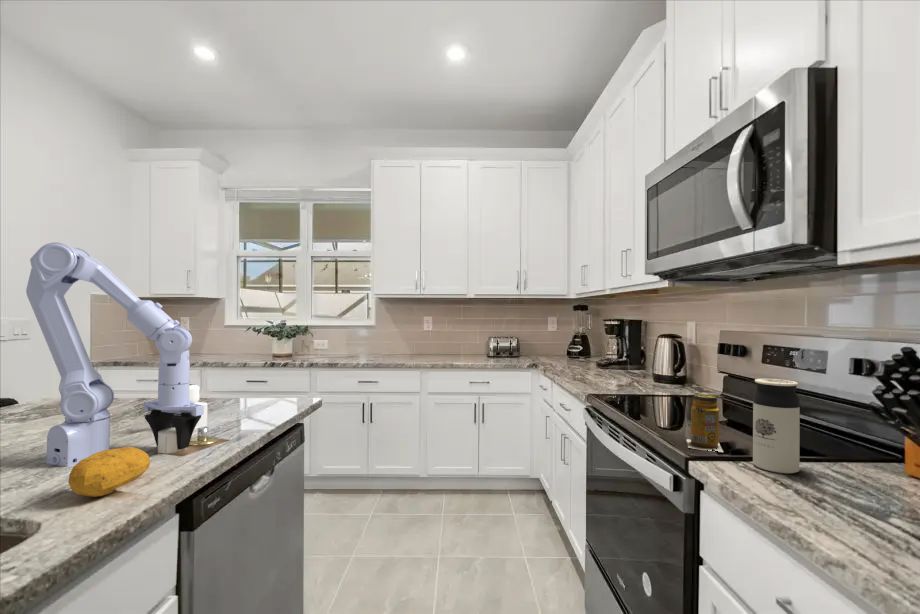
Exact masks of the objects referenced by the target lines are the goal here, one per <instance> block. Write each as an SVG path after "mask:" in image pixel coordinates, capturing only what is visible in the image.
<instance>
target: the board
mask: <svg viewBox="0 0 920 614" xmlns="http://www.w3.org/2000/svg"><path fill="white" fill-rule="evenodd" d="M194 438H197V436H196V437H194ZM194 438H192V439H194ZM230 441H231V439H227V438H226V439H224V438H219V441H218V442H216V443H214V444H210V445H204V446H189V447H187V449H186V450H183V451H180V452H176V453H167V454H166V453H165V454H164V453H158V448H157V449H154V450H153V449H152V450H150V451H149V453H153V454H162V455H166V456H167V455H169V456H177V457H185V456H188V455H190V454H193V453H194V454H195V453H197V452H199V451H203V450H206V449H209V448H212V447H216V446H217V445H221V444H223V443H227V442H230Z"/></svg>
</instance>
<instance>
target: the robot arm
mask: <svg viewBox="0 0 920 614" xmlns="http://www.w3.org/2000/svg"><path fill="white" fill-rule="evenodd" d="M29 262H30V266H31V269H30V273H29V277H28V282H27V286H26V289H25V292H26V293H25V294H26V297H27V298H28V301H29V303H30V306H31V309H32V311H33V313H34V315H35V317H36V320H37V323H38V326H39V327H40V330H41V332H42V335H43V337H44V339H45V340H44V341H45V342H46V344H47V347H48V349H49V351H50V354H51V357H52V359H53V361H54V363H55V366H56V369H57V372H58V373H59V376H60V382H59V386H58V391H59V394H60V403H59V409H60V412H61V414H62V415H63V416H64V421H63V422H61V423H59V424H56V425H54V426H52V427H50V428H49V430H48V431H47V436H46V458H45V460H46V464H47V465H51V466H52V465H53V466H60V467H66V468H67V467H68V468H69V467H74V466H75V465H76V464H77V463H79V462H80V461H81V460H82V459H85V458H87V457H89V456H91V455H93V454H95V453H98V452H101V451H104V450H110V446H111V445H110V444H111V443H110V440H111V439H110V438H111V435H110V433H111V431H110V430H111V413H110V411H109V410H108V408H109V407H111V405H112V404H113V402H114V399H115V392H114V391H113V388H112V387H111V386H110V385H108V384H107V382H105V381H104V379H103V378H102V375H101V374H100V373H99V372H98V371H97V369H95V368H94V367H93V365H92V362H91V360H90V357H89V354H88V352H87V350H86V348H85V345H84V342H83V339H82V337H81V336H80V332H79V330H78V327H77V326H76V323H75V320H74V317H73V316H72V313H71V310H70V308H69V305H68V303H67V301H66V298H65V295H66V294H67V292H68V291H69V290H70V289H71V287H72V286H73V284H75V283H77V282H78V281H81V280H82V281H83V282H89V283H92V284H94V285H95V286H96V287H98V288H99V289H100V290H102V292H104V293H105V294H107V295H108V296H109V297H110V298H111V299H113V300H114V301H115V302H116V303H118V304H119V305H120V306H121V307H122V308H124V309H125V310H126V319H127V320H128V321H129V322H130V323H131V324H132V325H134V326H135V327H136V329H138V330H139V331H140V332H141V333H143V334H144V335H145V337H147V338H148V339H150V340H151V341H155V344H154V345H155V348H156V349H157V351H158V352H159V362H158V381H157V400H149V401H145V402H143V412H149V413H148V414H146V415H144V419H145V421H146V422H147V423H148V425H149V427H150V429H151V431H152V433H153V437H154V442H155V445H156V448H158V431H160V430H163V429H168V428H170V424H171V420H173V423H174V425H175V429H176V435H177V447H178V449H180V450H181V449H184V448H187V447H189V443H190V440H191V439H192V436H193V433H194V430H196V429H195V426H196V425H197V423H198V421H199V420H200V418H201V415H203V414H204V405H198V404H194V403H192V401H189V384H190V374H191V373H190V369H191V368H190V364H191V363H190V349H189V348H190V347H191V345H192V343H193V336H192V334H191V333H190V332H189V330H188V328H187V327H184V326H181V325H180V324H181V323H180V322H179V320H177V319H175V320H174V319H173V318H172V317H170V315H169V314H167V313H166V312H165V311H163V309H162V308H163V305H162V304H160V302H154V301H152V300H150V299H149V300H148V299H147V300H145V299H143V300H142V299H141V298H139V297H138V295H136V294H135V293H134V292H133V291H132V290H131V289H130V288H129V287H128V286H127V285H126V284H125V283H123V281H122V280H121V279H120V278H119V277H117V276H116V275H115V274H114V273H113V272H112V270H110V269H109V268H108V267H107V266H106V265H105V264H103V263H102V262H101V261H99V260H98V259H96V258H95V257H92V256H91V254H90V253H88V252H87V251H86V250H84V249H82V248H78V247H72V246H69V245H68V244H65V243H61V242H49V243H46V244H44V245H42V246H41V247H39V249H38V250H37V251H36V252H35V253H34V254H33V255H32V256H31V257H30V259H29ZM174 413H178V414H181V416H175V417H173V415H174Z"/></svg>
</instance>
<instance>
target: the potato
mask: <svg viewBox="0 0 920 614" xmlns="http://www.w3.org/2000/svg"><path fill="white" fill-rule="evenodd" d="M150 465H151V459H150V457H149V454H148V453H147V452H146V451H144V450H142V449H140V448H137V447H132V446H124V447H118V448H112V449H109V450H104V451H101V452H98V453H95V454H93V455H91V456H89V457H87V458H85V459H82V460H81V461H80V462H79V463H77V464H76V465H73V466H72V467H73V468H72V469H71V471H69V472H70V473H69V477H68V484H69V486H70V489H71V491H72V492H73V493H75V494H77V495H79V496H82V497H92V498H98V497H103V496H105V495H109V494H111V493H113V492H115V491H116V490H117V489H118V488H120V487H123V486H125V485H127V484H130V483H131V482H133V481H135V480H137V478H139V477H140V476H142V475H143V474H144V473H145V472H146V471H147V470H148V469H149V468H150Z"/></svg>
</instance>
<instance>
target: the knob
mask: <svg viewBox="0 0 920 614" xmlns="http://www.w3.org/2000/svg"><path fill="white" fill-rule="evenodd" d="M209 429H210V427H209V426H204V427H199V428H197V432H196V433H197V436H196V437H197V438H196V437H194V439H193V438H191V440H190V443H189V446H204V445H210V444H214V443H216V442H218V441H219V439H220V438H219V437H217V436H209Z"/></svg>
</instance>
